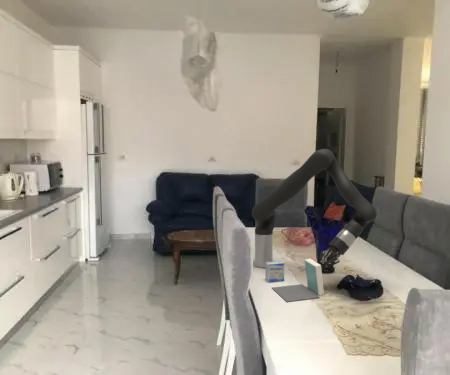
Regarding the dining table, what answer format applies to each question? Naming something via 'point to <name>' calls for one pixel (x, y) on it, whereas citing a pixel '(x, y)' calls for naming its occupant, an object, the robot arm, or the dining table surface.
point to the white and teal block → (314, 276)
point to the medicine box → (274, 271)
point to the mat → (295, 293)
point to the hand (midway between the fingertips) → (317, 271)
